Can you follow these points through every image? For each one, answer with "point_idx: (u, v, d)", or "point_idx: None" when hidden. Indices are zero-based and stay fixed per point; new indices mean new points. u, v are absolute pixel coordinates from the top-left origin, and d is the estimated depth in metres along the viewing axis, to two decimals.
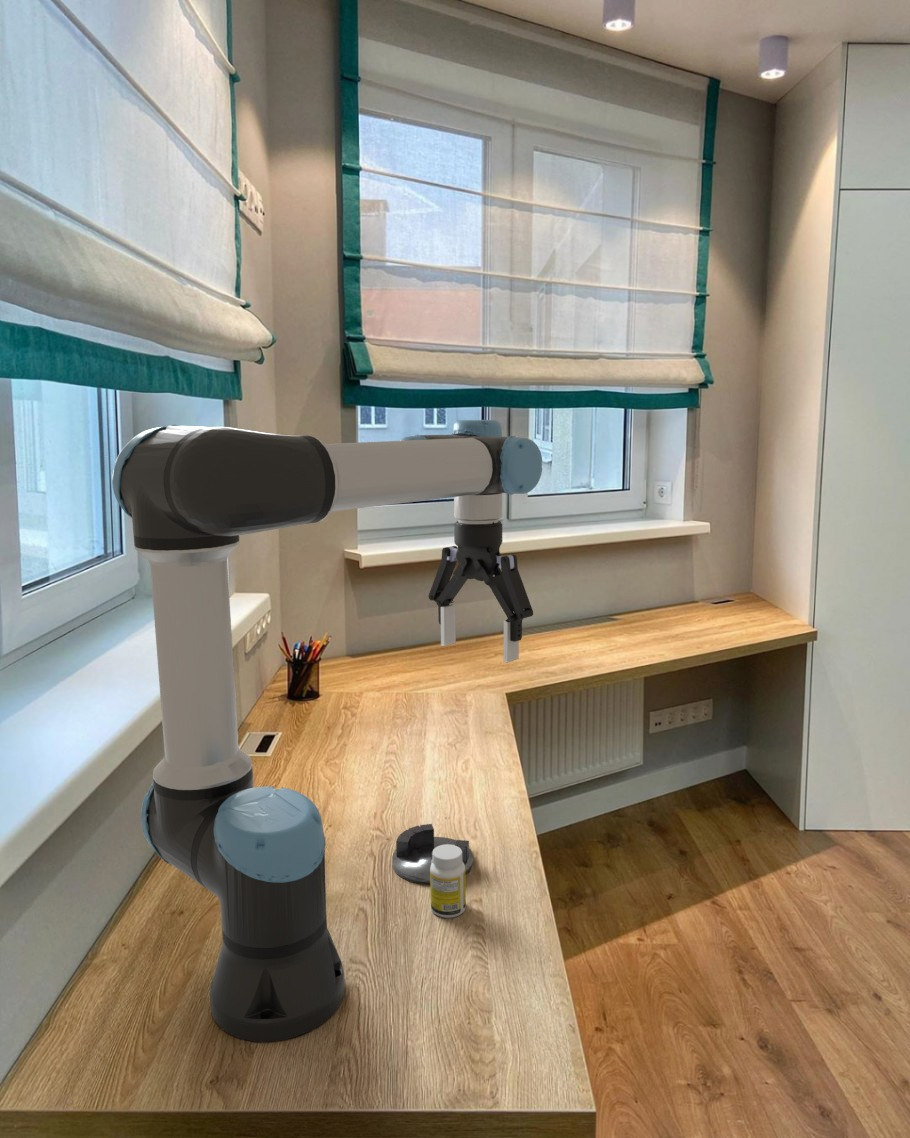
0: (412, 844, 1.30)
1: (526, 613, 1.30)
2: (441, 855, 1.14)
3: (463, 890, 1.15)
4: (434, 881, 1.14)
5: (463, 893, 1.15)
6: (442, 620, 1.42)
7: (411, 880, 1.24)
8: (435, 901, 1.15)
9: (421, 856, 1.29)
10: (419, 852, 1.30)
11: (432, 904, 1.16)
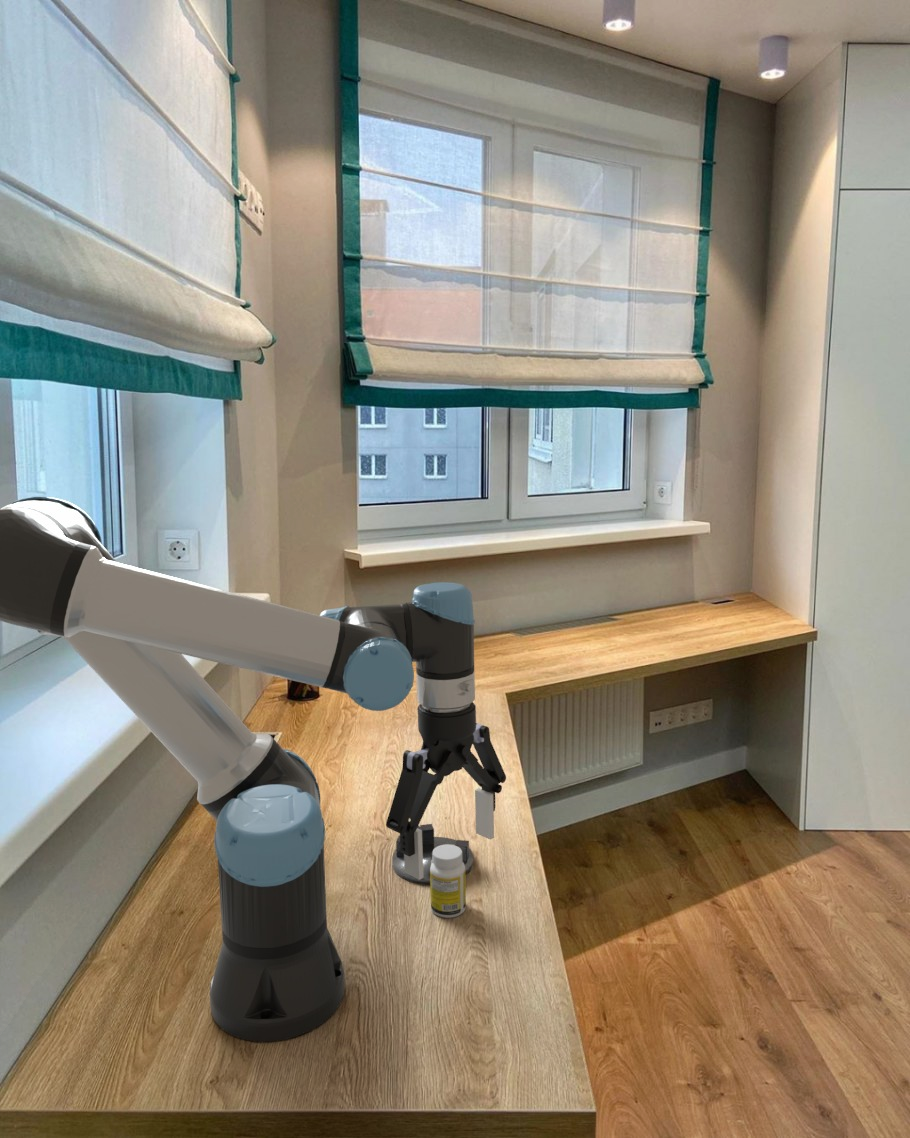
0: None
1: (390, 825, 1.07)
2: (441, 855, 1.14)
3: (463, 890, 1.15)
4: (434, 881, 1.14)
5: (463, 893, 1.15)
6: None
7: (411, 880, 1.24)
8: (435, 901, 1.15)
9: None
10: None
11: (432, 904, 1.16)
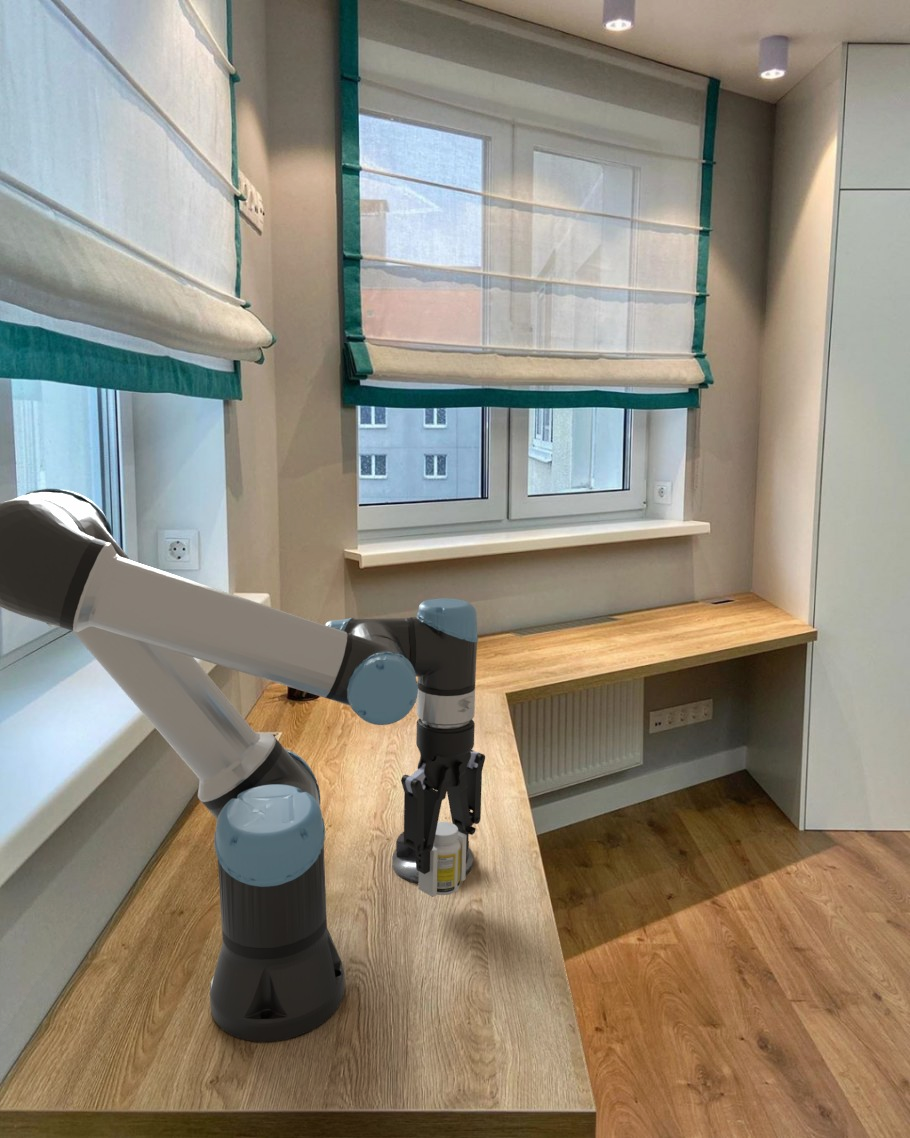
0: None
1: (408, 844, 1.11)
2: (437, 831, 1.14)
3: (458, 868, 1.15)
4: None
5: (457, 871, 1.15)
6: None
7: (411, 880, 1.24)
8: None
9: None
10: None
11: None
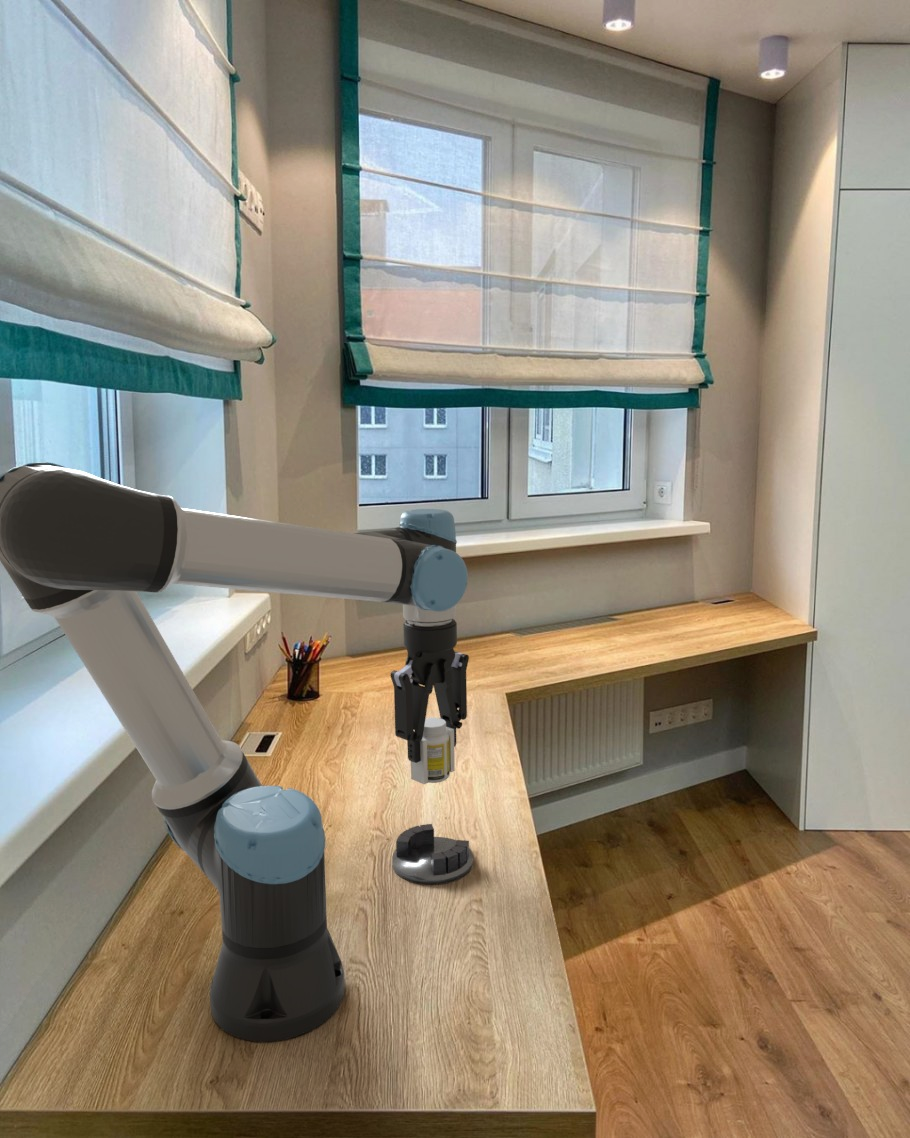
0: (412, 844, 1.30)
1: (399, 735, 1.21)
2: (427, 724, 1.24)
3: (447, 758, 1.25)
4: None
5: (447, 761, 1.25)
6: None
7: (411, 880, 1.24)
8: None
9: (421, 856, 1.29)
10: (419, 852, 1.30)
11: None
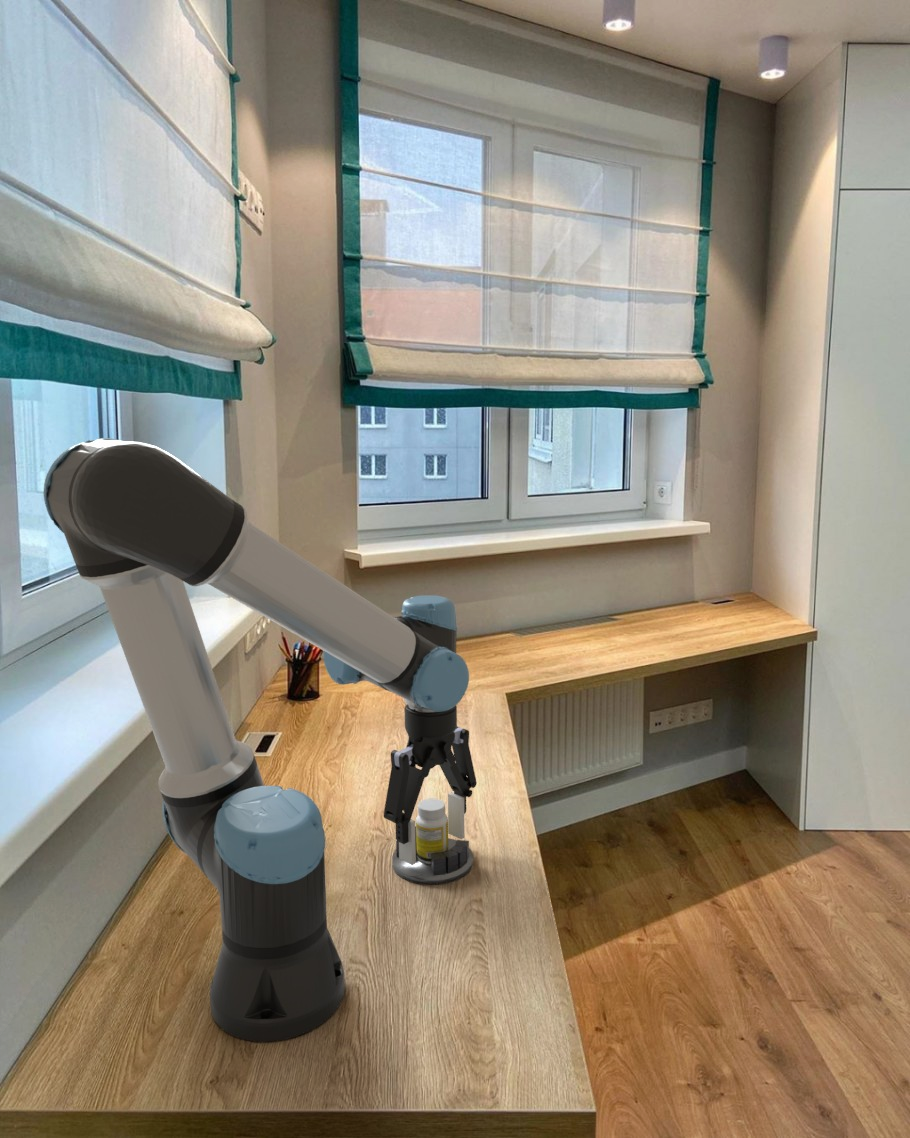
0: None
1: (387, 816, 1.21)
2: (426, 807, 1.26)
3: (446, 839, 1.27)
4: (419, 831, 1.26)
5: (446, 842, 1.27)
6: None
7: (411, 880, 1.24)
8: (420, 849, 1.26)
9: None
10: None
11: (418, 852, 1.27)
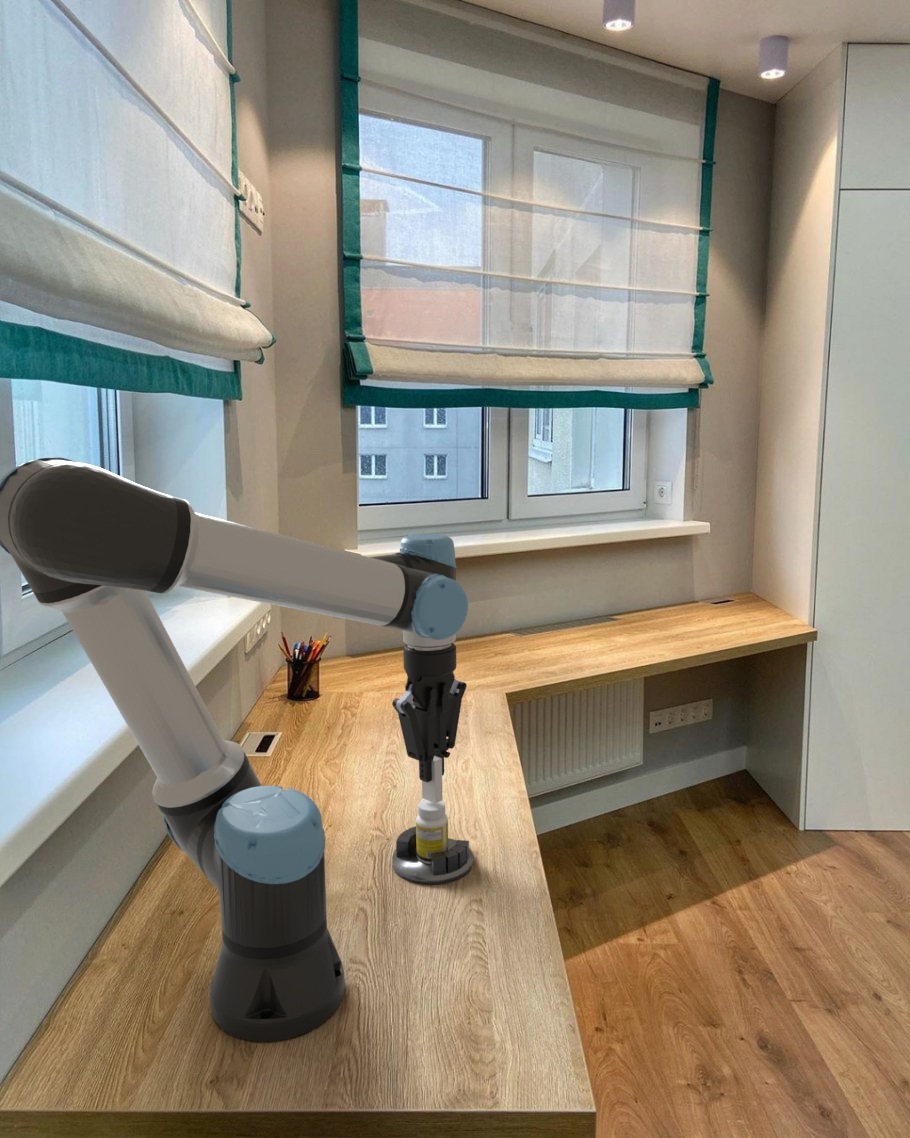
0: (412, 844, 1.30)
1: (411, 756, 1.23)
2: (426, 807, 1.26)
3: (446, 839, 1.27)
4: (419, 831, 1.26)
5: (446, 842, 1.27)
6: None
7: (411, 880, 1.24)
8: (420, 849, 1.26)
9: None
10: None
11: (418, 852, 1.27)
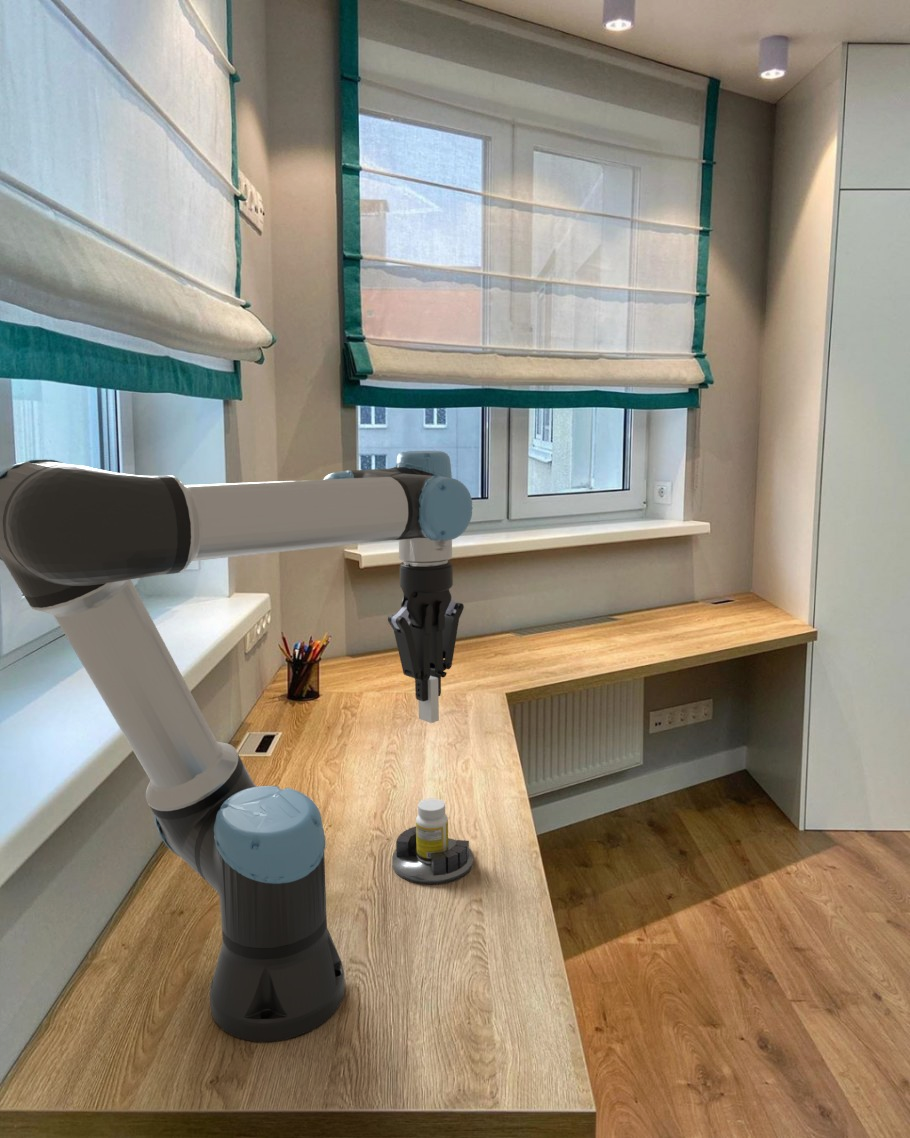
0: (412, 844, 1.30)
1: (407, 674, 1.23)
2: (426, 807, 1.26)
3: (446, 839, 1.27)
4: (419, 831, 1.26)
5: (446, 842, 1.27)
6: None
7: (411, 880, 1.24)
8: (420, 849, 1.26)
9: None
10: None
11: (418, 852, 1.27)
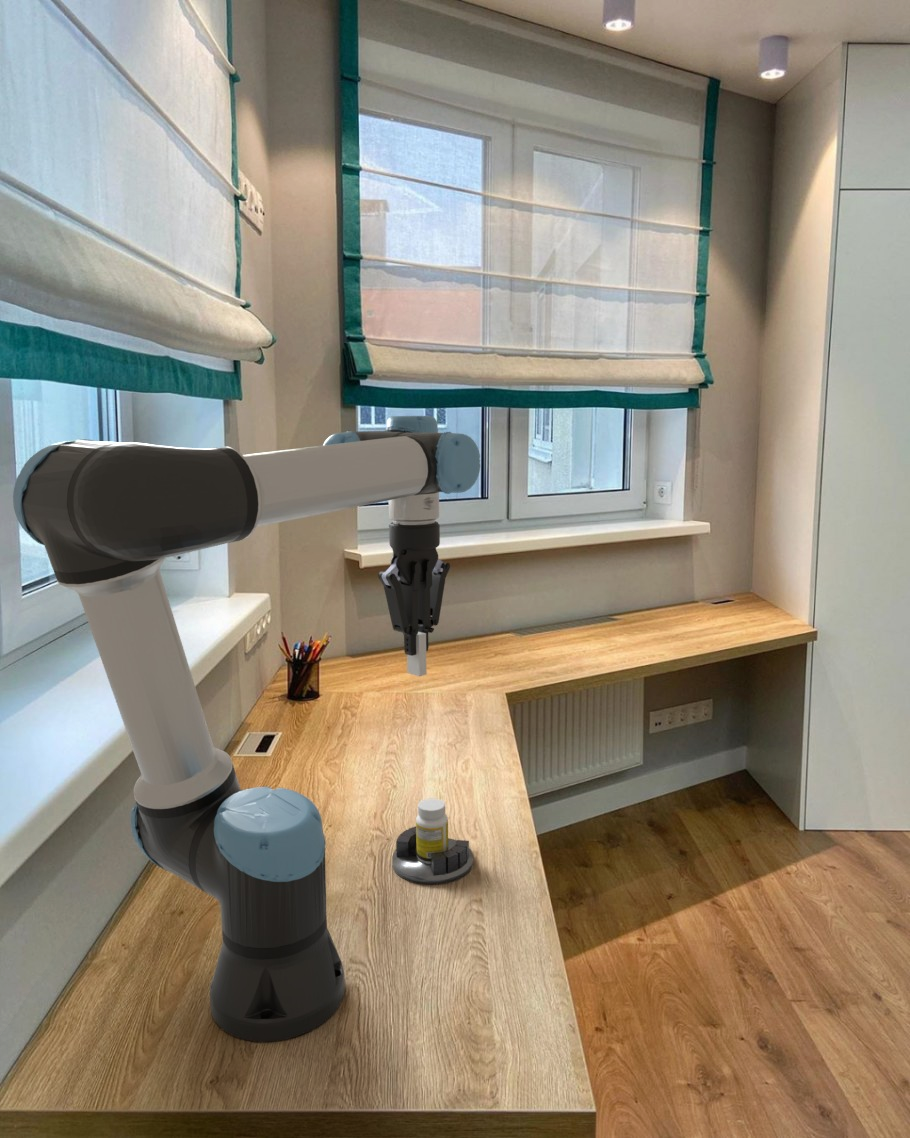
0: (412, 844, 1.30)
1: (396, 629, 1.29)
2: (426, 807, 1.26)
3: (446, 839, 1.27)
4: (419, 831, 1.26)
5: (446, 842, 1.27)
6: None
7: (411, 880, 1.24)
8: (420, 849, 1.26)
9: None
10: None
11: (418, 852, 1.27)
